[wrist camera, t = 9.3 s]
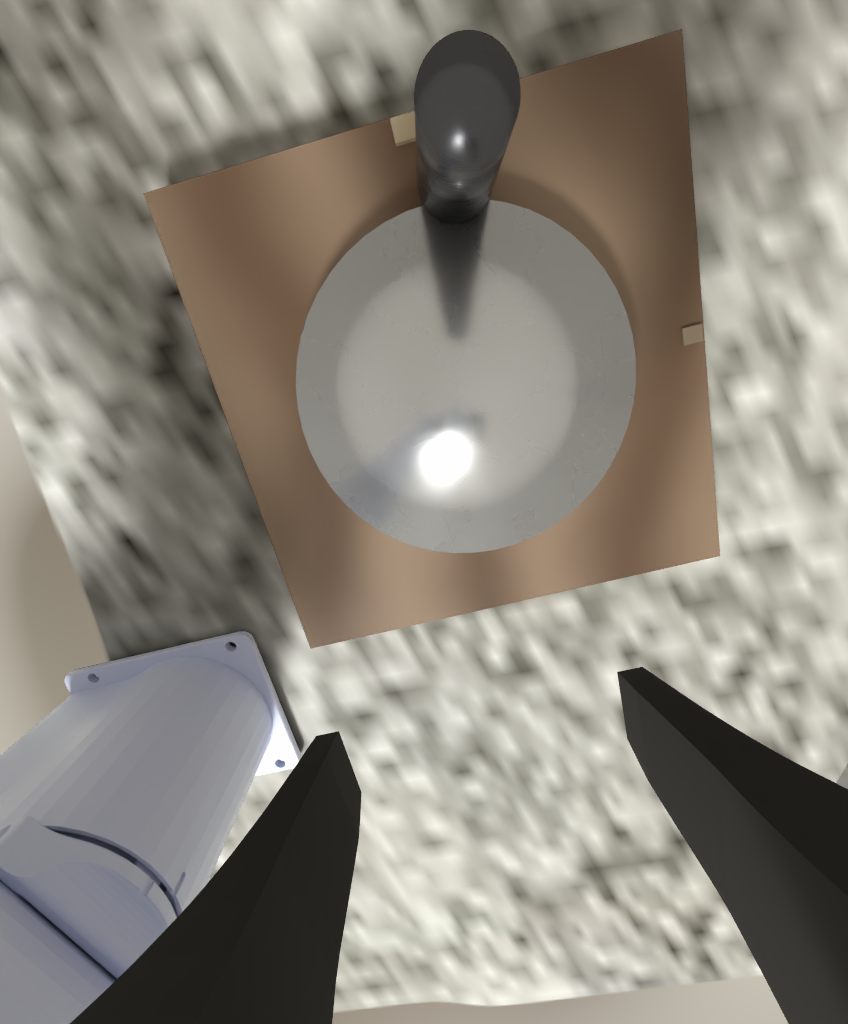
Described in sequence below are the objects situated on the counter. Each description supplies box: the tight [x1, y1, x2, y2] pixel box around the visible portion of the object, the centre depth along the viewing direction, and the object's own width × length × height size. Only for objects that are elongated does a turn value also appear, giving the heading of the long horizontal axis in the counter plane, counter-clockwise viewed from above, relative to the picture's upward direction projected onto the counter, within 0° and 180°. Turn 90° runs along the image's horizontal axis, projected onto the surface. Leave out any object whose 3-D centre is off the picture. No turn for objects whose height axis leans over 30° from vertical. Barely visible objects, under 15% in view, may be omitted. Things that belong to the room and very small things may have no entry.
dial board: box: [143, 29, 720, 648], centre depth 17 cm, size 18×18×2 cm
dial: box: [296, 30, 636, 553], centre depth 14 cm, size 14×12×5 cm
